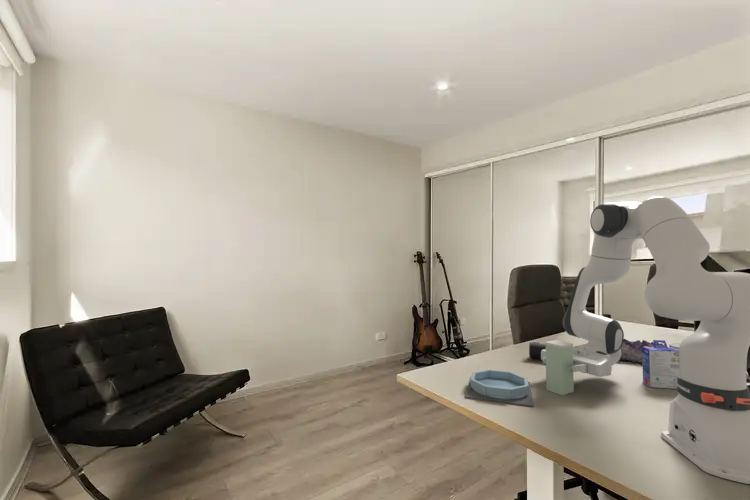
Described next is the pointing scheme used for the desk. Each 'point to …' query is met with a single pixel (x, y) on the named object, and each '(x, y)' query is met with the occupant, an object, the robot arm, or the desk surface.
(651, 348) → the ink cartridge box
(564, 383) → the tea tin
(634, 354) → the geode
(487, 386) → the bowl
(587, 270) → the robot arm
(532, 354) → the end cap
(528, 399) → the mat
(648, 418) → the desk surface
